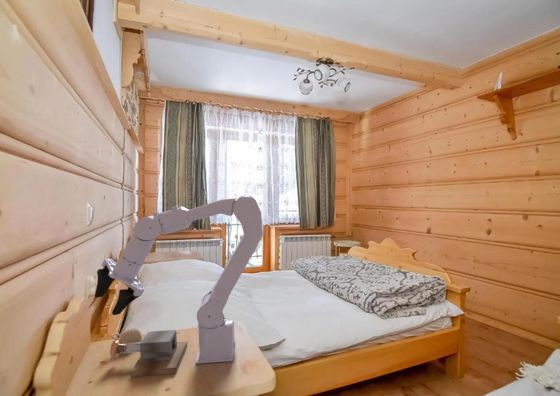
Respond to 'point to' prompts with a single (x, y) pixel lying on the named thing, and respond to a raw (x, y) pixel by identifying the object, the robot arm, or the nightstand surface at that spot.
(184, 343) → the housing
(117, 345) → the shaft
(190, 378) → the nightstand surface
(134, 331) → the cream ribbed curved piece
